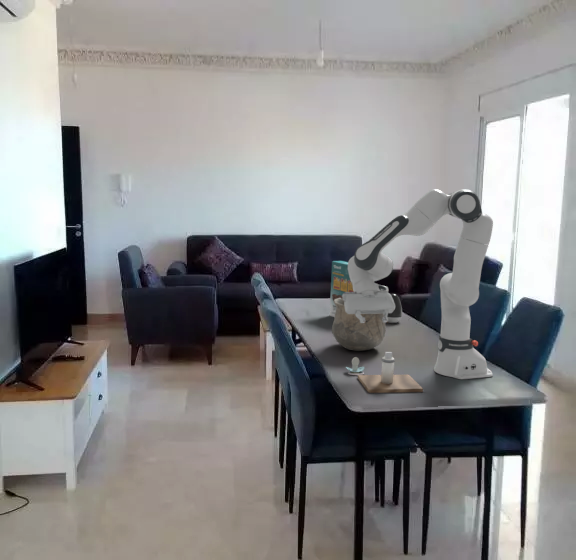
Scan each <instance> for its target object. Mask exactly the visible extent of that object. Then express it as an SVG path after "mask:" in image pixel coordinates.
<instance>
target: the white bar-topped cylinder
mask: <svg viewBox="0 0 576 560" xmlns="http://www.w3.org/2000/svg"><path fill="white" fill-rule="evenodd" d="M395 361H396V360H395V358H394V357H393V352H392V351H385V352H384V356H382V358H381V374H380V375H381V382H382V383H385V384H391V383H393V375H395V374H394V371H395V370H394V369H395Z"/></svg>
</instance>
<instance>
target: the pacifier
mask: <svg viewBox="0 0 576 560" xmlns="http://www.w3.org/2000/svg"><path fill="white" fill-rule="evenodd" d="M359 364H360V359H359V357H357V356H355V357H353V358H351V365H352V368H351V367H348V366H345V368H346V370H348V371H347V375H349V376H358V375H365V372H364V370H365V366H360V367H359Z"/></svg>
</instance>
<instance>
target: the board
mask: <svg viewBox="0 0 576 560" xmlns="http://www.w3.org/2000/svg"><path fill="white" fill-rule="evenodd" d="M357 379H358V381H359V382H360V383H361V385H362V386H363V388H364V389H365V390H366V391H367V393H368V394H370V393H371V394H372V393H373V394H374V393H375V394H376V393H378V394H380V393H382V394H383V393H385V394H386V393H388V394H389V393H422V392H424V388H423V387H422V386H421V385H420V384H419V383H418V382H417V381H416V380H415V379H414V378H413V377H412V376H411V375H410V374H393V383H391V384H385V383H382V382H381V374H363V375H357Z"/></svg>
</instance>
